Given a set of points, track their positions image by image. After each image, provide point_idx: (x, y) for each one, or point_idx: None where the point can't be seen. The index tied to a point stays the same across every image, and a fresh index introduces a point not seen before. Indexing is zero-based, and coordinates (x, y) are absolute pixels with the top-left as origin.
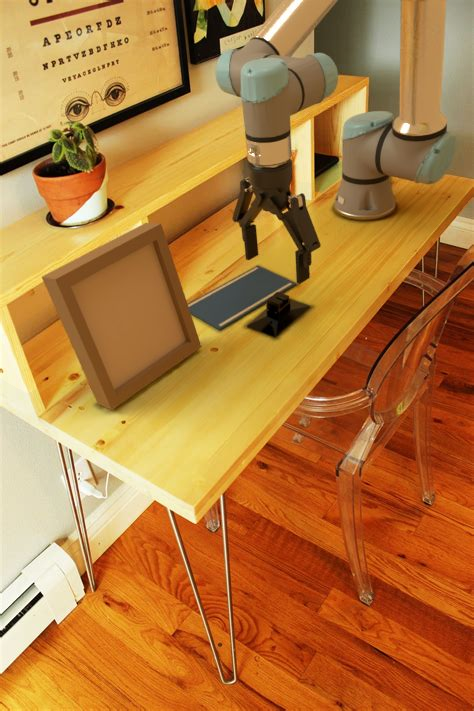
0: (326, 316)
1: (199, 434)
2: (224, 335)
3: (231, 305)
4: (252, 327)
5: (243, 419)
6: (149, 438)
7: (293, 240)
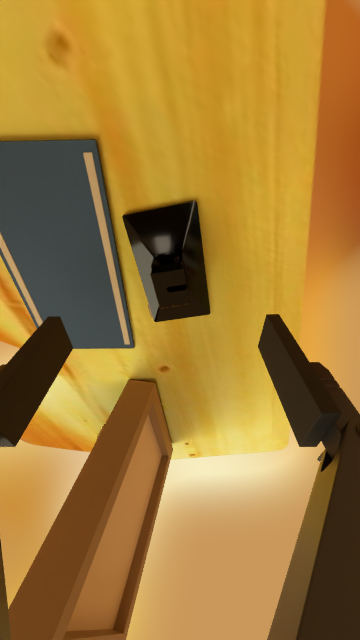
0: (246, 204)
1: (247, 426)
2: (148, 348)
3: (88, 303)
4: (165, 319)
5: (270, 404)
6: (217, 442)
7: (311, 500)
